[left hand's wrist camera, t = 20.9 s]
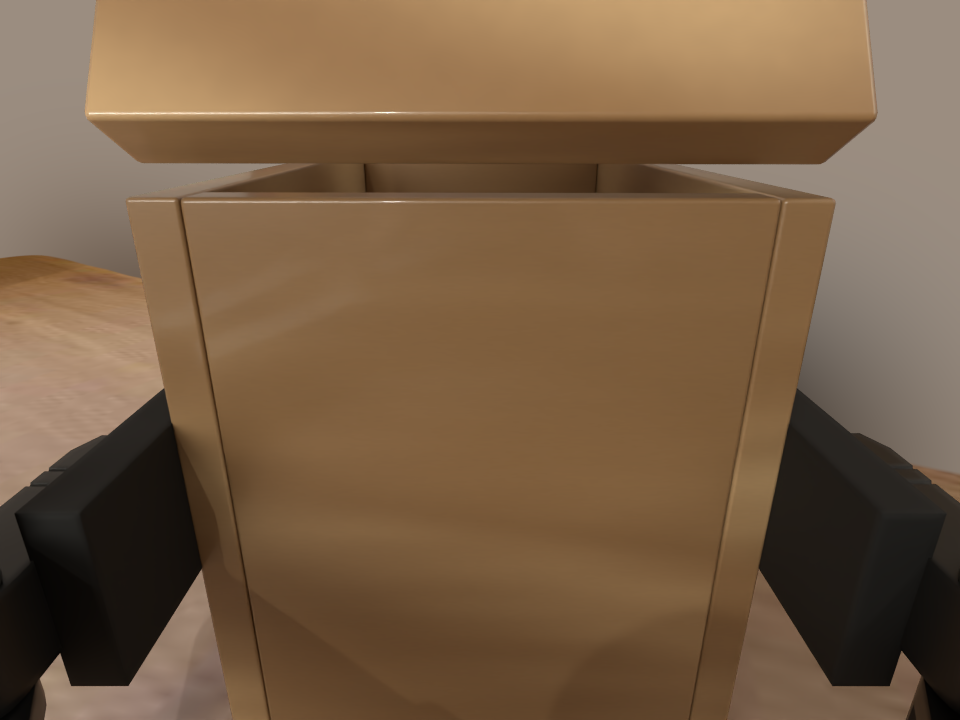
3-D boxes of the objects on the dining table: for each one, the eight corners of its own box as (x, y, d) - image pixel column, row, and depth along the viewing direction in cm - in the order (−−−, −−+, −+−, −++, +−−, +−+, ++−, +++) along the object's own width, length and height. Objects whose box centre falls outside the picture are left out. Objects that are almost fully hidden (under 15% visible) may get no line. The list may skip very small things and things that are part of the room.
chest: (366, 430, 25) (346, 150, 21) (593, 431, 25) (616, 151, 21) (241, 770, 12) (122, 197, 8) (717, 771, 12) (839, 199, 8)
